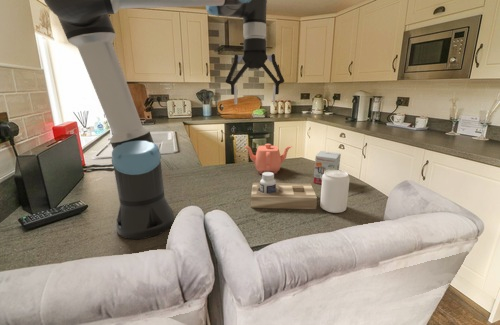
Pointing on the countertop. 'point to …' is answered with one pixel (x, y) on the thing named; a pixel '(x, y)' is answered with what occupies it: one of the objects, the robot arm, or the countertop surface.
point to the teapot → (268, 158)
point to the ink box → (325, 164)
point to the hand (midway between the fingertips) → (254, 104)
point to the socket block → (285, 197)
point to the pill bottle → (268, 183)
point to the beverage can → (334, 191)
